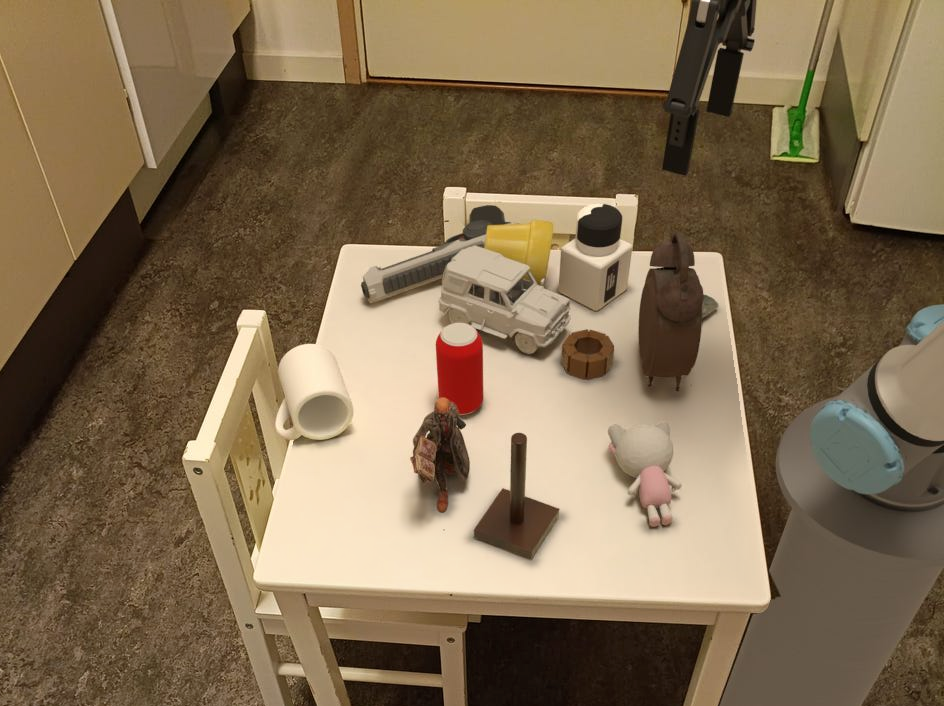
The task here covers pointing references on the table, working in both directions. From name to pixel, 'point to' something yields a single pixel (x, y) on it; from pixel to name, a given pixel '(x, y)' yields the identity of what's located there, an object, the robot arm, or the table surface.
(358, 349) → the table surface
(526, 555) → the peg stand
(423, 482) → the figurine
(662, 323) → the alarm clock
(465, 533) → the table surface
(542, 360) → the table surface
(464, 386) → the beverage can
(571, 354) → the ring
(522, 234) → the flower pot
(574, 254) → the container
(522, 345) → the toy car
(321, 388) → the mug
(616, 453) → the toy
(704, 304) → the stone
